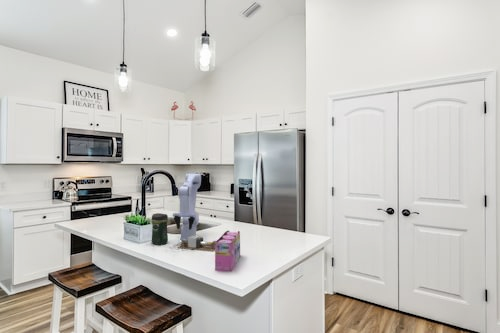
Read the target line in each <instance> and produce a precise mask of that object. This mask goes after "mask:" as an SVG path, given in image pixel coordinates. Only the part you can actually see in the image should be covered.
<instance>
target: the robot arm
mask: <svg viewBox="0 0 500 333" xmlns="http://www.w3.org/2000/svg"><path fill="white" fill-rule="evenodd" d="M201 183H202V174H201V173H200V172H199V173H186V174H185V181H184V182H183V183H182V185H181V186H180V187H178V199H179V212H173V213H172V217H173V220H174V223H175V226H176V228H177V230H179V229H180V241H182V240H188V237H190V236H192V235H194V236H197V226H198V225H199V221H200V218H199V217H200V216H199V213H198V212H197V211H196V204H197V192H198V189H199V188H200V187H201ZM181 218H182V220H181ZM181 221H182V222H181ZM181 223H182V225H181Z"/></svg>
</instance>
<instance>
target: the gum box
mask: <svg viewBox="0 0 500 333" xmlns="http://www.w3.org/2000/svg"><path fill="white" fill-rule="evenodd" d="M215 241H216V242H215V250H214V253H215V254H214V256H215V257H214V258H215V259H214V270H215V271H221V272H231V271H232V269H233V268H234V267H235V265H236V263H237V262H238V261H239V258H240V257H241V232H240V231H239V230H238V231H237V232H236V231H230V230H226V231H225V232H224V233H223V234H222V235H221V236H220V237H219V238H218V239H217V240H215Z"/></svg>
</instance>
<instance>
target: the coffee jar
mask: <svg viewBox="0 0 500 333" xmlns="http://www.w3.org/2000/svg"><path fill="white" fill-rule="evenodd" d="M168 220H169V219H168V214H166V213H159V212H158V213H153V214H152V215H151V224H152V228H151V230H152V231H151V232H152V233H151V244H152V245H153V244H154V245H158V246H160V245H166V244H167V243H168V242H169V238H168V235H169V234H168Z"/></svg>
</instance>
